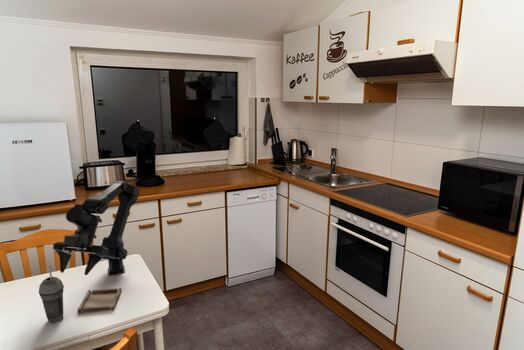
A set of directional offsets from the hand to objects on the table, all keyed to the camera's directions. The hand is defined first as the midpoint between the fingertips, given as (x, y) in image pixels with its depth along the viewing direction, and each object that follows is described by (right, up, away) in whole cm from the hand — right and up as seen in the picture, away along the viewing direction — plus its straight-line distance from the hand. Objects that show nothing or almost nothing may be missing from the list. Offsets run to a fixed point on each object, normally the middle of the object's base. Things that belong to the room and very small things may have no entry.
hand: (73, 273), depth 125 cm
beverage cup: (-4, -15, -4) cm, 16 cm away
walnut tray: (+7, -12, +6) cm, 15 cm away
